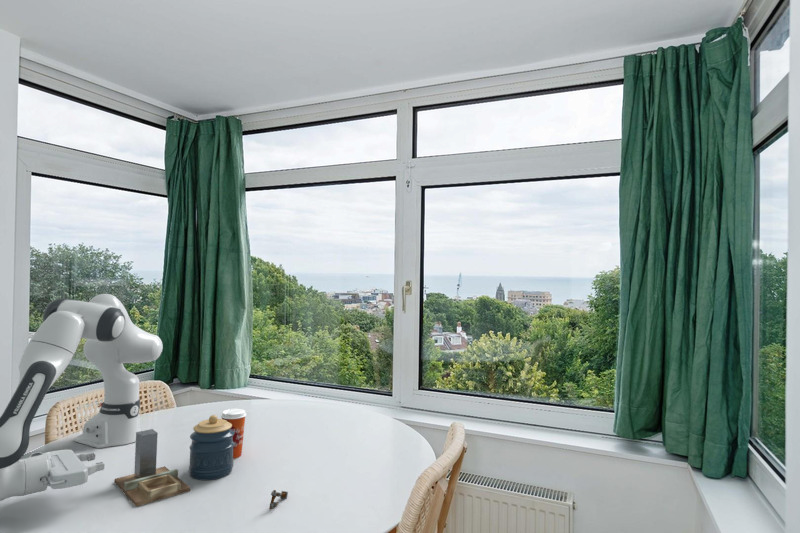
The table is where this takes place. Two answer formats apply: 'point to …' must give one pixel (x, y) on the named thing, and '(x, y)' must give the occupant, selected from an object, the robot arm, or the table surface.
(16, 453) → the robot arm
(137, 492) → the door board
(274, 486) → the table surface
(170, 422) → the table surface
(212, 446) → the canister
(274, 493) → the wooden post with brackets
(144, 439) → the bar
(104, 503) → the table surface
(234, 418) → the coffee cup
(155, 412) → the table surface
